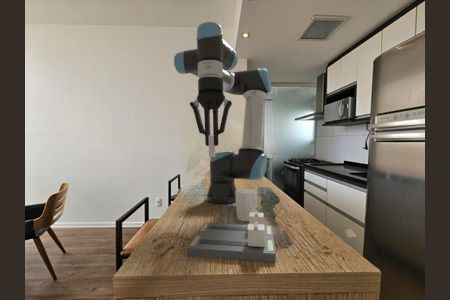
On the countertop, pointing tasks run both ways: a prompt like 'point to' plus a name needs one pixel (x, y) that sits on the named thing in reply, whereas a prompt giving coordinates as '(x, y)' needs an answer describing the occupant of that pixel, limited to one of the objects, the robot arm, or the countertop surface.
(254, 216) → the block
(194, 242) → the switch panel
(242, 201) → the white cup
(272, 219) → the countertop surface
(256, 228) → the breaker
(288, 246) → the countertop surface
